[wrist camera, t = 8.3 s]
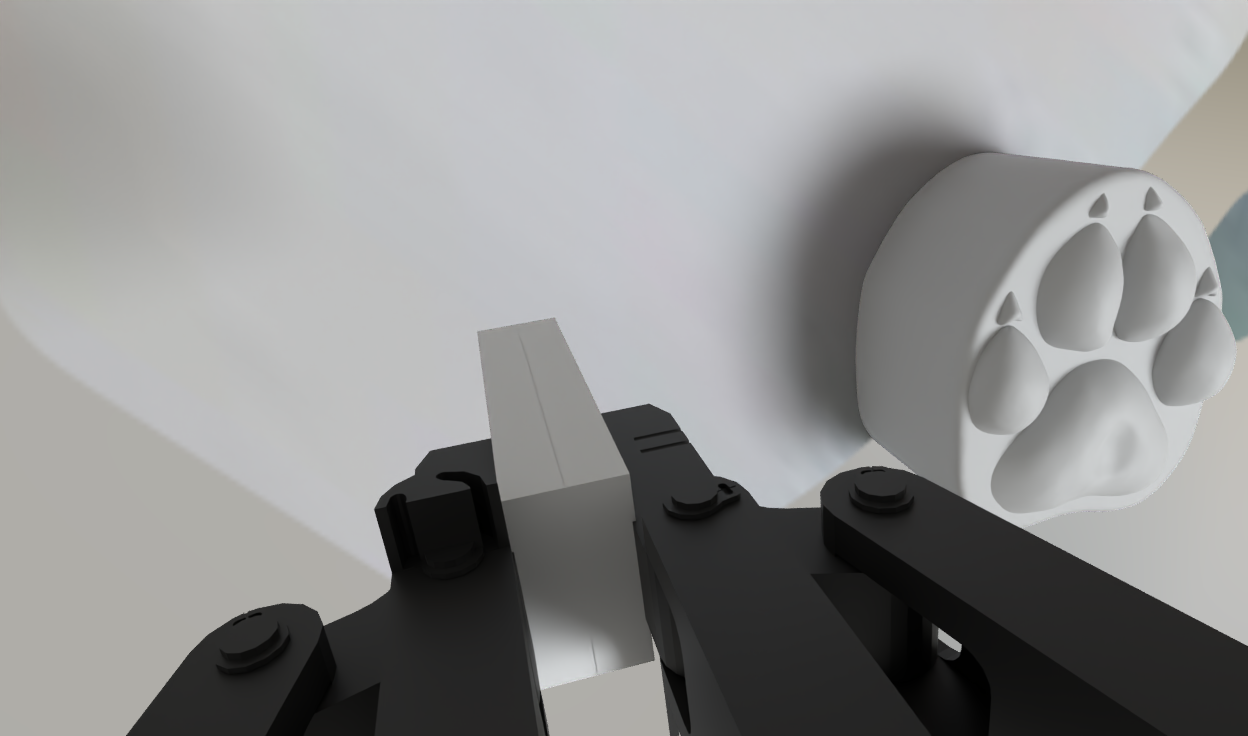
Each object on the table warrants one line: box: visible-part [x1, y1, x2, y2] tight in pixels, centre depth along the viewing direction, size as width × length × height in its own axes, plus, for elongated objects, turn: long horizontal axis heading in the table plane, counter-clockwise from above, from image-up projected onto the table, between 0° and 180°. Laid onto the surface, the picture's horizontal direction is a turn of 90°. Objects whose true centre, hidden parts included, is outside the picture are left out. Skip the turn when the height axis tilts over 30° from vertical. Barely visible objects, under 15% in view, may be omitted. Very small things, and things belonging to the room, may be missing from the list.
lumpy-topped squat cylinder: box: [856, 152, 1236, 528], centre depth 29 cm, size 10×13×9 cm
